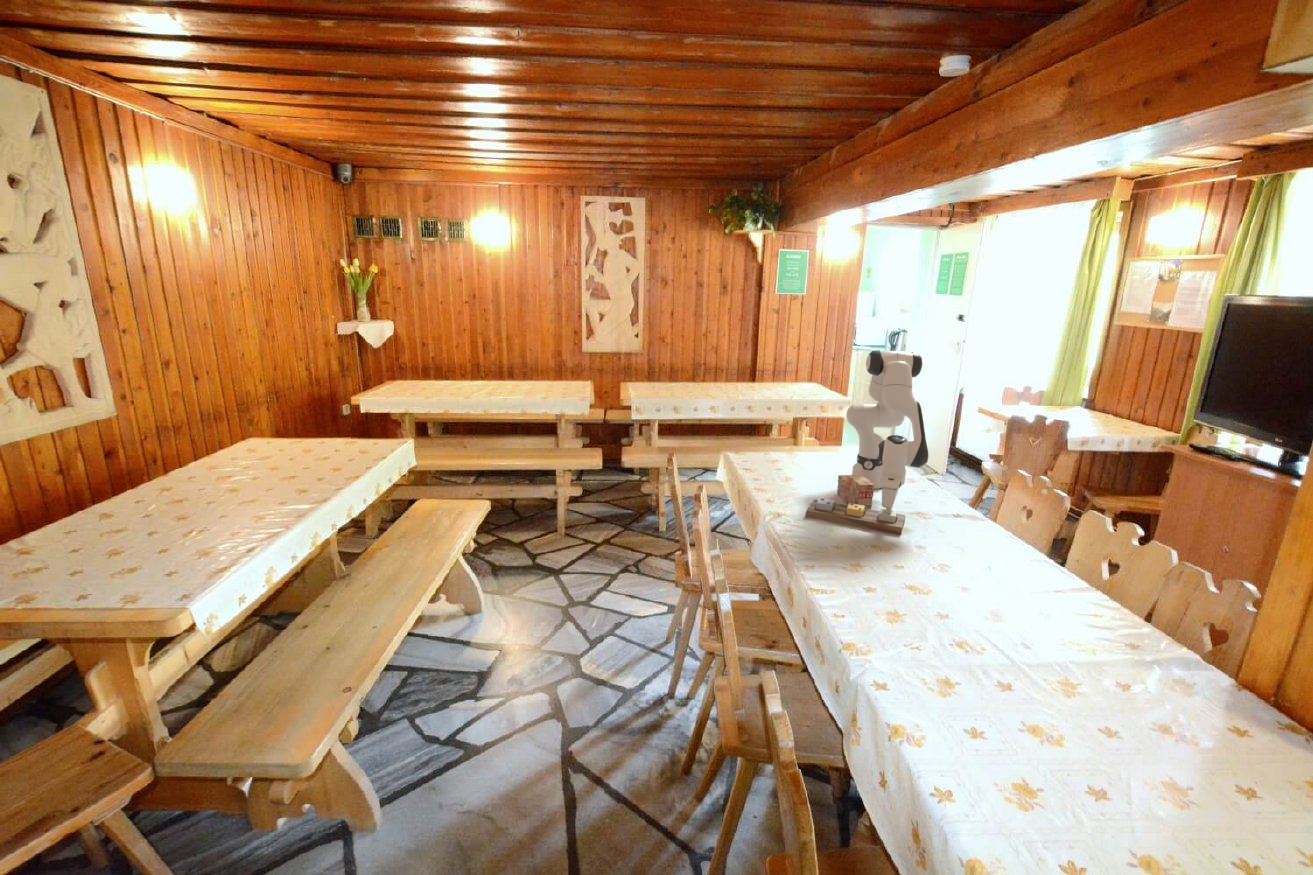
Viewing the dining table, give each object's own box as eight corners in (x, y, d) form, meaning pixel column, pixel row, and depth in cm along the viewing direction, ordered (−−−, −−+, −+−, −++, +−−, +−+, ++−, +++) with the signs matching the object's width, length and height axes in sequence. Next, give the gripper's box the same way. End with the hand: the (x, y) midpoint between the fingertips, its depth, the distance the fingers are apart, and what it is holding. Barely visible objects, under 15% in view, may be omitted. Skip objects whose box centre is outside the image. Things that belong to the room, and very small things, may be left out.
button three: (848, 512, 237) (849, 502, 236) (864, 515, 234) (865, 505, 233) (846, 517, 231) (847, 507, 230) (861, 520, 229) (862, 510, 228)
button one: (879, 517, 231) (880, 508, 230) (895, 520, 229) (897, 510, 228) (877, 523, 226) (878, 512, 225) (894, 526, 223) (895, 515, 222)
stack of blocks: (836, 494, 262) (838, 468, 259) (849, 494, 263) (852, 468, 260) (857, 512, 241) (860, 484, 238) (871, 511, 242) (874, 483, 239)
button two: (818, 507, 242) (819, 497, 241) (833, 509, 239) (834, 500, 238) (815, 511, 237) (816, 502, 236) (830, 514, 234) (831, 504, 233)
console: (813, 506, 247) (814, 499, 246) (904, 522, 231) (905, 515, 230) (805, 517, 235) (806, 510, 234) (901, 534, 219) (901, 527, 218)
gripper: (886, 469, 233) (883, 502, 236) (880, 483, 215) (876, 518, 219) (903, 472, 230) (899, 505, 234) (898, 486, 213) (894, 521, 216)
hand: (888, 511), depth 226 cm, fingers closed
